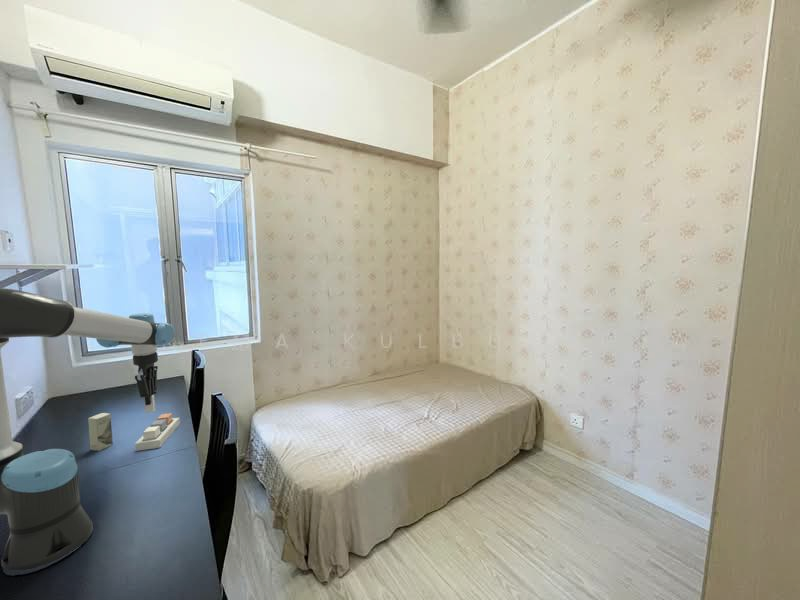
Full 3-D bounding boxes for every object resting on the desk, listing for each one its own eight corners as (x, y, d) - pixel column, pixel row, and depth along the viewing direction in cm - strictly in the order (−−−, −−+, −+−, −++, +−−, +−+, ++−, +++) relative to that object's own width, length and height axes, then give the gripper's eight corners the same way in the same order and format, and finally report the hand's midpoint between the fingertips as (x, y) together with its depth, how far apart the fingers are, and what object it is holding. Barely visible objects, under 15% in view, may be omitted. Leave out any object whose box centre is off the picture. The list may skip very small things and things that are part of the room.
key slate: (162, 431, 130) (161, 423, 130) (151, 432, 129) (150, 425, 129) (166, 426, 134) (166, 419, 134) (155, 427, 133) (154, 420, 133)
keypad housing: (160, 447, 123) (159, 440, 123) (135, 450, 121) (134, 443, 121) (179, 423, 143) (179, 417, 142) (159, 426, 140) (158, 419, 140)
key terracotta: (168, 424, 136) (168, 417, 136) (157, 425, 135) (157, 418, 135) (172, 420, 140) (171, 413, 140) (161, 421, 139) (161, 414, 138)
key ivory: (155, 438, 125) (155, 430, 124) (143, 440, 123) (143, 432, 123) (160, 433, 128) (159, 425, 128) (148, 434, 127) (148, 427, 127)
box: (99, 451, 121) (95, 419, 120) (90, 450, 122) (86, 418, 121) (114, 444, 126) (111, 413, 125) (105, 443, 127) (102, 412, 126)
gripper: (148, 356, 118) (154, 417, 120) (163, 348, 130) (168, 403, 132) (124, 358, 116) (130, 420, 118) (142, 349, 128) (147, 405, 130)
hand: (150, 411), depth 125 cm, fingers closed
